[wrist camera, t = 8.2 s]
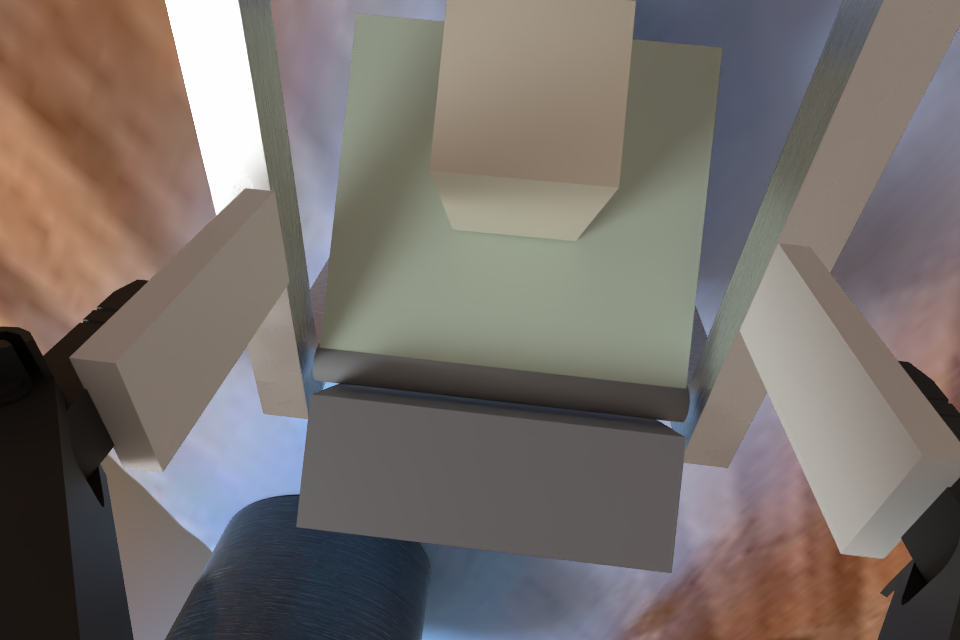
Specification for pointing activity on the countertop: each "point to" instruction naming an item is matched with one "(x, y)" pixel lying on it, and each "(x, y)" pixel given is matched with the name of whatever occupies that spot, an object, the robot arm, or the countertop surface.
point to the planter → (304, 583)
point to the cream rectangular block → (531, 113)
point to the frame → (723, 355)
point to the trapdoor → (508, 330)
